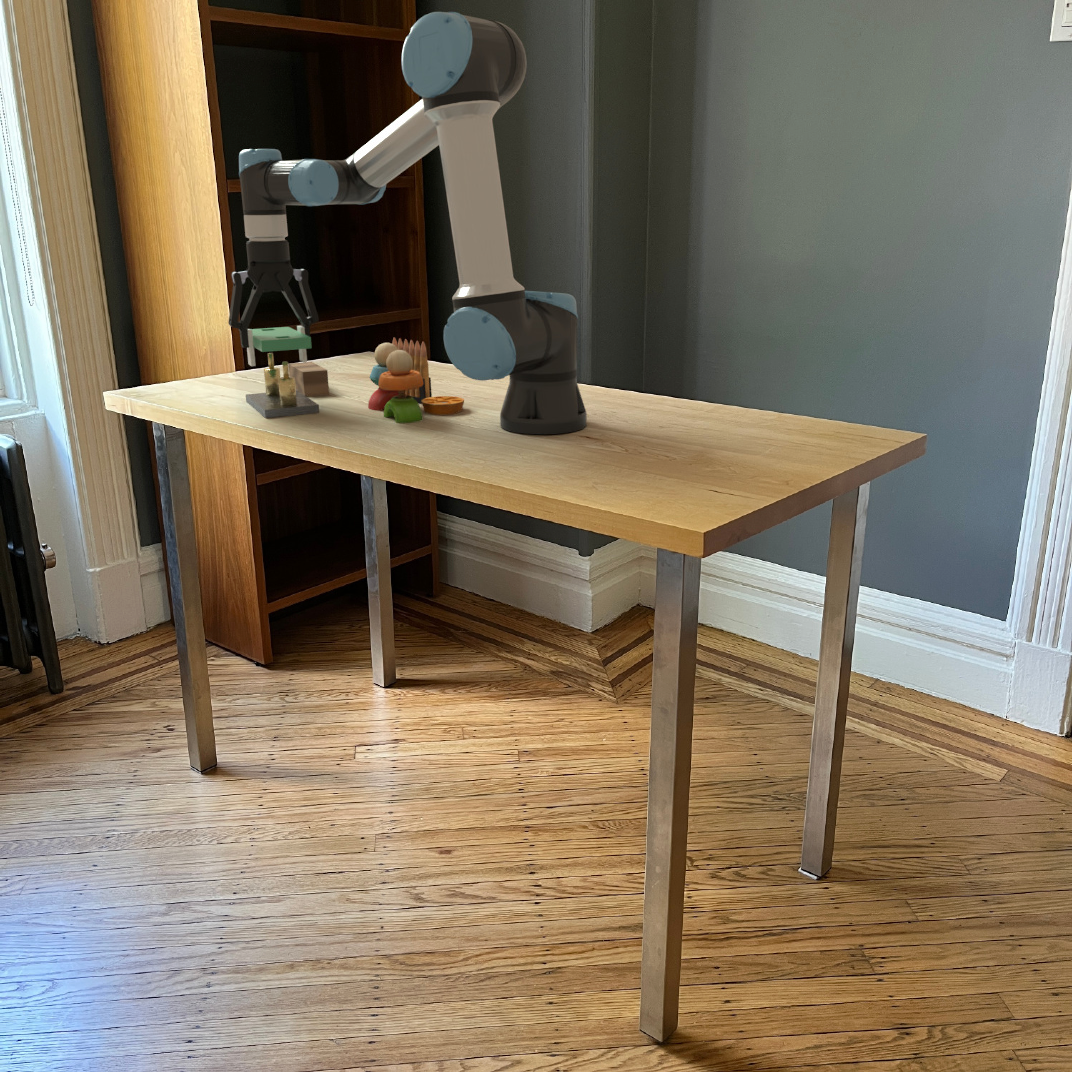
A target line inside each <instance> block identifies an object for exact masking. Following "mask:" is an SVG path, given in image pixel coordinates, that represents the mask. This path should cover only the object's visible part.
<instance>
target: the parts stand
mask: <svg viewBox="0 0 1072 1072" xmlns="http://www.w3.org/2000/svg"><path fill="white" fill-rule="evenodd" d="M288 369H289V377H294V378H295V386H296V390H297V391H299V392H300V393H302V394H303V395H305V396H306V397H313V396H323V395H330V389H329V378H328V377H329V371H328V369H326V368H324V367H322V366H321V365H319V364H317V363H315V362H313V361H307V362H295V363H288Z"/></svg>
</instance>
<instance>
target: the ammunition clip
mask: <svg viewBox="0 0 1072 1072" xmlns="http://www.w3.org/2000/svg"><path fill="white" fill-rule="evenodd" d="M419 342H420V341H418V340H416V342H415V344H414V341H413V340H412V339H410V341H409V342H408V340H407V339H406V338H405V339H404V341H402V338H401V337H400V338H398V341H397V338H396V337H393V339H392V343H391V344H393V345H395V346H396V347H397V348H398V350H403V351H406V352H407V353H408V354H409V355H410V356H411V358H412V360H413V367H412V369H411V370H414V371H418V372H419V373H420V374H421V376H422V378H423V386H421V387H419V388H416V389H411V390H406V391H405V394H406V395H408V396H412V397H413V399H415V400H416V401H417V402H418V404H419V405H422V402H421V401H422V400H423V399H425V398H429V397H433V396H432V381H431V380H432V379H431V377H430V374H429V361H428V356H427V355H428V353H427V346H426V343H425V341H422V343H421V345H420V343H419Z"/></svg>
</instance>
